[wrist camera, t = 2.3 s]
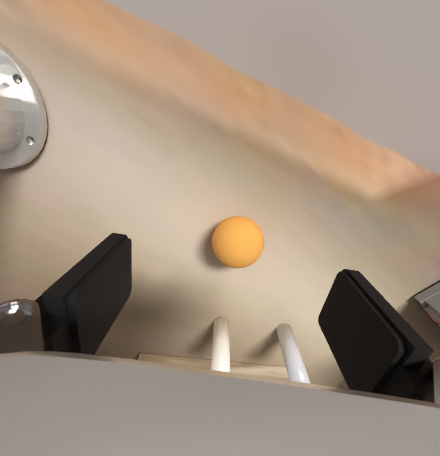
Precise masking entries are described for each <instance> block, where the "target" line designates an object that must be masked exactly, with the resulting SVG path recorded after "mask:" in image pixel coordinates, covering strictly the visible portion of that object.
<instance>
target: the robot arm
mask: <svg viewBox="0 0 440 456" xmlns="http://www.w3.org/2000/svg"><path fill="white" fill-rule="evenodd" d="M46 135H47V116H46V111H45V107H44V103H43V100H42V97H41V95H40V93H39V90H38V88H37V86H36V85H35V83H34V81H33V80H32V78H31V76H30V74H29V73H28V72H27V71H26V69H25V68H24V67H23V66H22V64H21V63H20V62H19V61H18V60H17V59H16V58H15V57H14V56H13V55H12V54H11V53H10V52H9V51H8V50H7V49H5V48H4V47H2V46H1V45H0V169H9V168H15V167H19V166H23V165H25V164H27V163H29V162H31V161H32V160H33V159H34V158H35V157H37V156H38V154H39V153H40V151H41V150H42V148H43V146H44V143H45V140H46ZM131 288H132V271H131V239H128V237H127V235H123V234H117V233H112V234H110V235H109V236H108V237H107V238H106V239H105V240H103V241H102V242H101V243H100V244H99V245H98V246H97V247H95V248H94V249H93V250H92V251H91V252H90V253H88V254H87V255H86V256H85V257H84V258H83V259H82V260H80V261H79V262H78V263H77V264H76V265H75V266H73V267H72V268H71V269H70V270H69V271H68V272H67V273H65V274H64V275H63V276H62V277H61V278H60V279H58V280H57V281H56V282H55V283H54V284H53V285H52V286H50V287H49V288H48V289H47V290H46V291H45V292H43V293H42V295H41V296H40V297H39V298H38V299H36V300H35V301H34V300H30V299H14V300H8V301H5V302H1V303H0V456H440V359H438V360H435V361H434V362H433V363H432V362H431V361H430V359H429V356H430V355H431V354H432V352H433V350H432V349H431V348H430V347H429V345H428V344H427V343H426V342H425V341H424V340H423V339H422V338H421V337H420V336H419V335H418V334H417V333H416V332H415V330H414V329H413V328H412V327H411V326H410V325H409V324H408V323H407V322H406V321H405V320H404V319H403V318H402V317H401V316H400V314H399V313H398V312H397V311H396V310H395V309H394V308H393V307H392V306H391V305H390V304H389V303H388V302H387V301H386V300H385V298H384V297H383V296H382V295H381V294H380V293H379V292H378V291H377V290H376V289H375V288H374V287H373V286H372V285H371V283H370V282H369V281H368V280H367V279H366V278H365V277H364V276H363V275H362V274H361V273H360V272H359V271H354V270H348V269H344V270H342V271H341V272H339V273H338V274H337V276H336V278H335V281H334V283H333V285H332V287H331V290H330V292H329V294H328V296H327V299H326V301H325V303H324V305H323V308H322V310H321V312H320V315H319V318H318V322H319V325H320V327H321V330H322V332H323V334H324V336H325V338H326V340H327V342H328V344H329V347H330V349H331V351H332V353H333V355H334V357H335V359H336V362H337V364H338V366H339V368H340V370H341V372H342V374H343V376H344V379H345V381H346V383H347V385H348V387H349V389H343V388H336V387H329V386H322V385H316V384H309V383H302V382H295V381H288V380H280V379H273V378H266V377H259V376H252V375H245V374H238V373H230V372H223V371H216V370H209V369H201V368H194V367H186V366H179V365H171V364H164V363H156V362H149V361H141V360H134V359H125V358H117V357H108V356H100V355H94V354H95V352H96V350H97V349H98V347H99V346H100V344H101V342H102V341H103V339H104V337H105V336H106V334H107V332H108V331H109V329H110V327H111V326H112V324H113V322H114V321H115V319H116V317H117V316H118V314H119V312H120V311H121V309H122V308H123V306H124V304H125V303H126V301H127V299H128V298H129V296H130V293H131Z"/></svg>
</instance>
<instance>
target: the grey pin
mask: <svg viewBox="0 0 440 456" xmlns="http://www.w3.org/2000/svg"><path fill="white" fill-rule="evenodd" d="M276 331H277V335H278V339H279V343H280V347H281V350H282V354H283V358H284V362H285V366H286V370H287V373H288V377H289V381H295V382H302V383H309V384H310V381H309V378H308V375H307V372H306V369H305V366H304V363H303V360H302V357H301V354H300V352H299V349H298V346H297V343H296V340H295V337H294V334H293V331H292V328H291V326H290V325H288V324H281V325H279V326H278V327H277V329H276Z"/></svg>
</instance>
